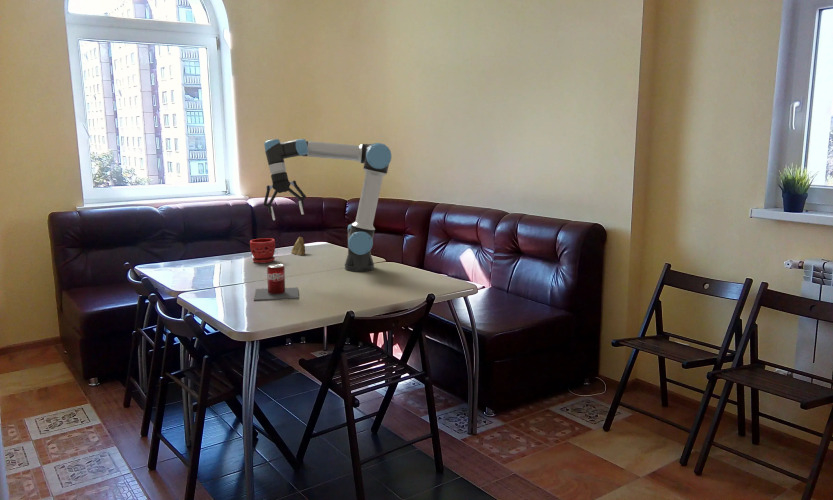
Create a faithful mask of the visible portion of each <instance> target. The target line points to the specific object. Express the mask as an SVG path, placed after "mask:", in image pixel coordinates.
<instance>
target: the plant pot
mask: <svg viewBox="0 0 833 500" xmlns="http://www.w3.org/2000/svg"><path fill="white" fill-rule="evenodd" d="M249 248H250V252H251V256H252V257H253V258H252V261H253V262H255V263H256V264H268V263H271V262H274V260H275V259H276V257H275V256H274V255H275V252H276V240H275V239H274V238H272V237H271V238H268V237H266V238H265V237H264V238H256V239H254V238H253V239H251V240H250V241H249Z"/></svg>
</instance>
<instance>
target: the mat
mask: <svg viewBox="0 0 833 500" xmlns="http://www.w3.org/2000/svg"><path fill="white" fill-rule="evenodd" d="M283 299H288V300H299V299H300V298H299V287H298V286H297V287H285V293H284V294H281V295H271V294H269V293H268V288H256V289H255V291H254V298H253V301H254V302H262V301H261V300H265V301H282V300H283Z"/></svg>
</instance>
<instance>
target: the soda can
mask: <svg viewBox="0 0 833 500" xmlns="http://www.w3.org/2000/svg"><path fill="white" fill-rule="evenodd" d="M285 269H286V267H285V265H284V264H282V263H280V264H279V263H275V264H269V265H267V267H266V279H267V289H268V293H269V294H271V295H281V294H284V293H285V288H286V277H285V275H286V274H285V273H286V271H285Z"/></svg>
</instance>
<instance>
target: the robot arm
mask: <svg viewBox="0 0 833 500" xmlns="http://www.w3.org/2000/svg"><path fill="white" fill-rule="evenodd" d="M263 146H264V152H265V155H266V159H267V163H268V164H267V165H268V169H269V174H271V175H270V178H271V184H272V185H266V187H265V188H266V192H265V197H264V199H263V200H264V201H263V204H262V207H266V208H267V210H268V214H269V215H270V214H271V217H272V220H273V221H276V216H275V213H274V208H273V206H272V203H273V202H274V199H276V197H277V194H282V193H287V192H289V193H290V194H291V195H293V196H294V197H295V198H296V199H298V200H299V201H297V202H298V206H299V210H300V213H301V215H305V213H304V209H303V208H304V207H305V204H304V199H306V198H307V196H306V194H305V193H304V192H303V191H302V189H301V188H300V187H299V185H298V184H297V181H296V180H293V181H290V180H289V176H288V172H286V171H287V167H286V163H285V159H290V158H295V157H311V158H319V159H331V160H341V161H342V160H343V161H354V162H355V161H356V162H358V163H359V164H363V170H364V172H365V174H364V179H363V184H362V188H361V193H360V199H359V202H358V206H357V207H358V208H357V213H356V216H355V221H353V222H352V223H351V224H348V226H347V256H346V259H345V261H344V270H346V271H348V272H369V271H373V270H374V269H375V262H374V259H373V256H372V253H371V251H372V248H373V246H374V241H373V240H374V236H375V231H376V228H375V226H374V221H375V217H376V211H377V207H378V202H379V197H380V193H381V187H382V183H383V178H384V177H385V176H387V174H388V171H389V165H390V163H391V161H392V152H391V149H390V148H389V147H388V146H387V145H386V144H385V143H381V142H375V143H361V144H360V145H359V144H358V145H356V144H348V143H347V144H346V143H345V144H343V143H335V142H333V143H332V142H323V141H322V142H321V141H310V140H309V141H308V140H306V139H304V138H298V139H293V140H289V141H284V142H281V141H280V139H279V138H275V139H269V140H266V141H265V142H264V143H263ZM291 186H293V187H294V188H295V189H296V191H297V192H298V193H297V192H295V191H294V190H293V189H292V188H290V187H291ZM272 189H274V192H273V194H272V196H271V197H270V200H269V196H270V191H271V190H272ZM299 194H300V195H299ZM268 200H269V202H268Z"/></svg>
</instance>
